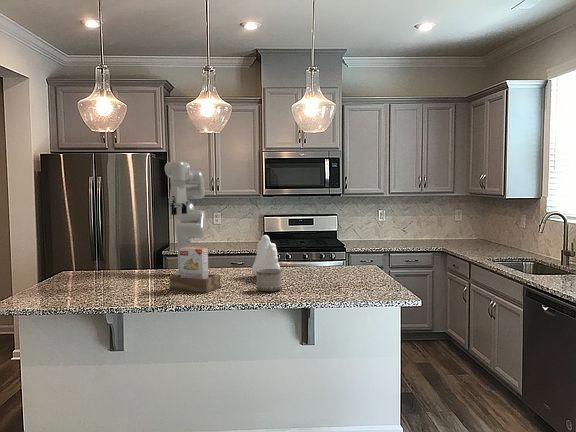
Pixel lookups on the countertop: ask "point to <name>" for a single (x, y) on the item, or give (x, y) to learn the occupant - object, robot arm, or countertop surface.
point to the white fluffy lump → (265, 255)
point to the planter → (268, 279)
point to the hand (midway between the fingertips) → (179, 214)
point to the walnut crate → (195, 284)
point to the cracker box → (194, 262)
